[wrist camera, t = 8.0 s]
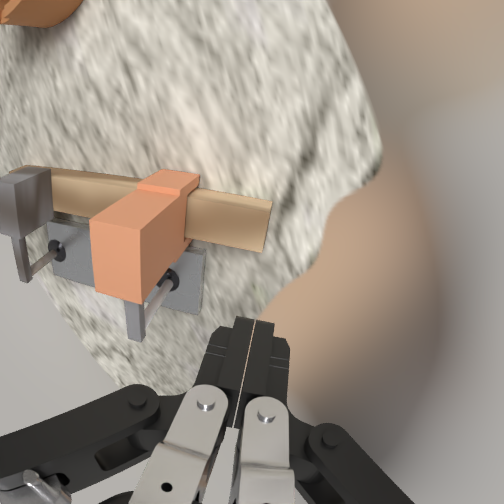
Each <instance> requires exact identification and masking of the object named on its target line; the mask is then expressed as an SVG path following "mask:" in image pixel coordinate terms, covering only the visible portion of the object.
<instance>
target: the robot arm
mask: <svg viewBox="0 0 504 504" xmlns="http://www.w3.org/2000/svg"><path fill="white" fill-rule="evenodd" d="M253 325H254V319H249V318H244V317H239V316H236V319H235V322H234V326H233V328H228V327H223V326H220V327H219V328H218V329H216V330H215V331H214V332H213V333H212V335H211V338H210V341H209V344H208V346H207V349H206V353H205V355H204V358H203V361H202V364H201V367H200V370H199V372H198V375H197V378H196V381H195V383H194V385H193V387H192V388H191V389H190V390H188V391H187V392H185V393H183V394H180V395H175V396H158V395H157V393H156V392H155V391H154V390H153V389H151V388H150V387H148V386H145V385H141V384H133V385H129V386H127V387H124V388H122V389H120V390H118V391H115V392H113V393H111V394H108V395H106V396H104V397H101V398H99V399H97V400H94V401H92V402H90V403H87V404H85V405H82V406H80V407H78V408H75V409H73V410H70V411H68V412H65V413H63V414H60V415H58V416H55V417H53V418H50V419H48V420H45V421H42V422H40V423H37V424H34V425H32V426H29V427H26V428H24V429H21V430H18V431H16V432H12V433H10V434H7V435H4V436H1V437H0V503H1V504H71V500H72V499H71V494H72V493H75V492H77V491H79V490H82V489H84V488H86V487H89V486H91V485H93V484H96V483H98V482H100V481H102V480H104V479H107V478H109V477H111V476H113V475H115V474H117V473H119V472H121V471H123V470H125V469H127V468H129V467H131V466H133V465H135V464H137V463H139V462H141V461H143V460H145V459H147V458H149V457H150V459H149V461H148V463H147V465H146V467H145V469H144V472H143V474H142V476H141V478H140V480H139V482H138V484H137V486H136V489H135V490H134V491H129V492H124V493H121V494H118V495H115V496H113V497H111V498H109V499H107V500H105V501H103V502H101V503H99V504H202V501H203V497H204V494H205V490H206V487H207V483H208V480H209V477H210V475H211V472H212V469H213V466H214V463H215V460H216V457H217V454H218V451H219V448H220V445H221V443H222V441H223V439H224V435H225V431H226V427H232V425H233V421H234V416H235V411H236V407H237V402H238V397H239V393H240V388H241V383H242V379H243V374H244V369H245V364H246V359H247V354H248V350H249V345H250V340H251V335H252V330H253ZM273 332H274V323H270V322H265V321H260V320H256V324H255V328H254V333H253V338H252V342H251V347H250V352H249V357H248V362H247V367H246V372H245V377H244V382H243V387H242V391H241V396H240V401H239V406H238V410H237V415H236V420H235V425H234V428H237V429H239V434H238V439H237V443H236V447H235V455H234V465H233V474H232V483H231V492H230V497H229V503H228V504H295V488H296V489H297V490H298V491H299V493H300V494H301V495H302V496H303V498H304V499H305V500H306V501H307V503H308V504H414V502H413V501H411V500H410V498H408V496H407V495H406V494H404V492H403V491H402V490H401V489H400V488H399V487H398V486H397V485H396V484H395V483H394V482H393V481H392V480H391V479H390V478H389V477H388V476H387V475H386V474H385V473H384V472H383V471H382V469H380V467H379V466H378V465H377V464H376V463H375V462H374V461H373V460H372V459H371V458H370V457H369V456H368V455H367V454H366V452H365V451H364V450H363V449H362V448H361V447H360V446H359V445H358V444H357V443H356V442H355V441H354V439H353V438H352V437H351V436H350V435H349V434H348V433H347V432H346V431H345V430H344V429H343V428H342V427H340V426H338V425H335V424H332V423H323V424H320V425H318V426H316V427H314V426H311V425H309V424H307V423H304V422H302V421H300V420H298V419H297V418H295V417H294V416H293V415H292V414H291V412H290V411H289V409H288V407H287V386H288V374H289V358H290V348H289V346H288V343H287V341H286V339H284V338H279V337H273Z"/></svg>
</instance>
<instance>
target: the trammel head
mask: <svg viewBox="0 0 504 504" xmlns="http://www.w3.org/2000/svg"><path fill="white" fill-rule="evenodd" d="M199 177H200V175H199V174H193V173H186V172H180V171H173V170H166V169H161V170H160V171H158V172H156V173H154V174H152V175H151V176H149V177H147V178H145V179H143V180H142V181H140V182H138V183H137V189H136V190H134V191H133V192H131V193H130V194H128V195H126V196H125V197H123V198H122V199H120V200H118V201H117V202H115V203H114V204H112V205H111V206H109V207H108V208H106V209H104V210H103V211H101V212H100V213H98V214H97V215H95V216H94V217H92V218H91V219H89V225H90V240H91V253H92V263H93V273H94V282H95V290H96V292H99V293H103V294H106V295H109V296H113V297H116V298H120V299H123V300H124V303H125V314H126V324H127V333H128V339H131V340H134V341H138V342H142V341H143V339H144V337H145V336H146V332H145V329H146V328H147V326H148V325H149V323H150V321H151V320H152V318H153V317H154V315H155V313H156V312H157V310H158V309H159V307H160V305H161V304H162V302H163V301H164V299H165V297H166V296H167V294H168V293H169V291H170V290H171V288H172V287H173V282H172V281H171V280H169V279H166V280H165V281H164V283H163V284H162V285H161V287H160V288H159V290H158V291H157V293H156V294H155V296H154V297H153V298H152V300H151V301H150V303H149V304H148V306H147V307H146V309H145V310H144V301H145V299H146V298H147V297H148V295H149V294H150V292H151V291H152V290H153V288H154V287H155V285H156V284H157V283H158V281H159V280H160V279H161V277H162V276H163V274H164V273H165V272H166V270H167V269H168V268H169V266H170V265H171V264H172V262H174V263H176V262H177V260H178V259H179V257H180V256H181V255H182V253H183V252H184V251H185V249H186V248H187V246H188V245H189V244H190V242H191V241H192V240H193V239H191V238H187V237H184V230H185V217H186V205H187V195H188V194H189V193H190V192H191V191H192V190H193V189H194V188H196V187H197V186H198V185H199Z"/></svg>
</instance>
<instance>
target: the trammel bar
mask: <svg viewBox="0 0 504 504" xmlns="http://www.w3.org/2000/svg"><path fill="white" fill-rule="evenodd" d="M142 180H143V179H138V178H131V177H124V176H117V175H110V174H102V173H94V172H86V171H78V170H69V169H60V168H51V167H41V166H31V165H25V166H22V167H20V168H17V169H15V170H12V171H10V172H9V174H8V175H5V176H3V177H1V178H0V233H1V234H4V235H8V236H11V239H12V244H13V249H14V255H15V259H16V264H17V269H18V274H19V278H20V281H22V282H25V283H29V282H30V281H31V280H32V276H33V275H34V274H35V273H37V272H38V271H39V270H40V269H41V268H43V267H44V266H45V265H46V264H48V263H49V262H50V261H51V260H53V259H54V258H55V257H56V256H57V252H56V251H55V250H54V249H52V250H51V251H50V252H48V253H47V254H46V255H44V256H43V257H42V258H40V259H39V260H38V261H37V262H35V263H34V264H33V265H31V266H30V263H29V258H28V252H27V247H26V241H25V236H27V235H28V234H30V233H31V232H33V231H34V230H36V229H37V228H39V227H41V226H42V225H44V224H45V223H47V222H48V221H50V220H52V219H53V218H54V211H59V212H63V213H68V214H73V215H78V216H83V217H88V218H92V217H94V216H95V215H97V214H98V213H100V212H101V211H103V210H104V209H106V208H108V207H109V206H111V205H112V204H114V203H115V202H117V201H118V200H120V199H122V198H123V197H125V196H126V195H128V194H130V193H131V192H133V191H134V190H136V189H137V183H138V182H140V181H142ZM271 207H272V201H267V200H262V199H257V198H251V197H246V196H241V195H235V194H230V193H224V192H219V191H213V190H207V189H202V188H194V189H193V190H192V191H191V192H190V193H189V194H188V195H187V205H186V217H185V230H184V237H187V238H191V239H196V240H201V241H206V242H211V243H216V244H221V245H226V246H231V247H236V248H240V249H245V250H250V251H255V252H260V253H262V251H263V247H264V243H265V239H266V234H267V229H268V223H269V218H270V213H271ZM53 210H54V211H53Z"/></svg>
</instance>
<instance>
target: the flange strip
mask: <svg viewBox="0 0 504 504" xmlns="http://www.w3.org/2000/svg"><path fill="white" fill-rule="evenodd" d="M47 231H48V239H49V244H48V249H49V252H50V251H51V250H52V249H54V250H55V251H56V252H57V256H56V257H55V258H54V259H53V260H52V266H53V272H54V275H57V276H60V277H63V278H66V279H69V280H72V281H76V282H79V283H82V284H85V285H89V286H92V287H95V282H94V273H93V263H92V253H91V240H90V225H87V224H82V223H77V222H73V221H68V220H63V219H59V218H53V219H52V220H50V221H48V222H47ZM205 258H206V250H205V249H200V248H195V247H190V246H187V248H186V249H185V251H184V252H183V253H182V255H181V256H180V257H179V259H178V260H177V262H176V263H174V262H172V264H171V265H170V266H169V268H168V269H167V270H166V272H165V273H164V274H163V276H162V277H161V279H160V280H159V281H158V283H157V284H156V285H155V287H154V288H153V290H152V291H151V292H150V294H149V295H148V297H147V298H146V299H145V301H144V302H148V303H150V301H151V300H152V298H153V297H154V296H155V294H156V293H157V291H158V290H159V288H160V287H161V285H162V284H163V283H164V281H165V280H166V279H169V280H171V281H172V282H173V287H172V288H171V290H170V291H169V293H168V294H167V296H166V297H165V299H164V301H163V302H162V304H161V305H160V306H163V307H167V308H171V309H175V310H179V311H183V312H187V313H191V314H195V315H198V314H199V312H200V309H201V301H202V290H203V279H204V268H205Z"/></svg>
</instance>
